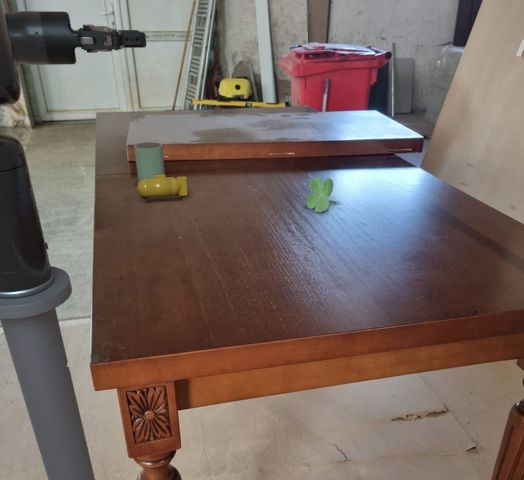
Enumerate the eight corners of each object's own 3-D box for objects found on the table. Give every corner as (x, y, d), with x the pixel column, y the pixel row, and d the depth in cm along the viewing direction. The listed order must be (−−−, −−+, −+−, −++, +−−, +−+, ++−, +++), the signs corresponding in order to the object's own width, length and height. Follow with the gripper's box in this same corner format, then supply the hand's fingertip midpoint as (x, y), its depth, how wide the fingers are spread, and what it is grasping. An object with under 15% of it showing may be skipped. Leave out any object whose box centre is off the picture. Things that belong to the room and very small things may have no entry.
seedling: (326, 229, 111) (308, 219, 106) (317, 197, 114) (300, 186, 109) (354, 212, 107) (338, 201, 102) (345, 180, 109) (328, 167, 104)
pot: (153, 189, 116) (149, 149, 112) (132, 185, 119) (127, 145, 114) (171, 183, 121) (168, 144, 116) (151, 178, 124) (147, 140, 119)
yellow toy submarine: (138, 202, 109) (135, 178, 106) (138, 196, 112) (135, 173, 109) (188, 200, 111) (186, 176, 108) (186, 194, 114) (185, 171, 111)
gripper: (35, 11, 78) (145, 12, 82) (39, 11, 89) (136, 12, 93) (45, 68, 82) (150, 67, 86) (48, 61, 93) (141, 60, 97)
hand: (142, 38), depth 90 cm, fingers open, 8 cm apart
